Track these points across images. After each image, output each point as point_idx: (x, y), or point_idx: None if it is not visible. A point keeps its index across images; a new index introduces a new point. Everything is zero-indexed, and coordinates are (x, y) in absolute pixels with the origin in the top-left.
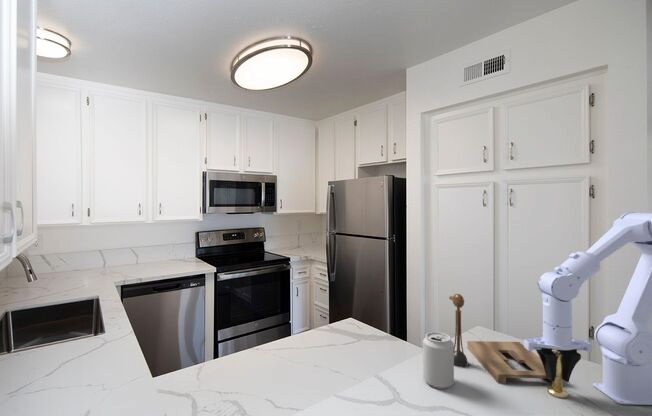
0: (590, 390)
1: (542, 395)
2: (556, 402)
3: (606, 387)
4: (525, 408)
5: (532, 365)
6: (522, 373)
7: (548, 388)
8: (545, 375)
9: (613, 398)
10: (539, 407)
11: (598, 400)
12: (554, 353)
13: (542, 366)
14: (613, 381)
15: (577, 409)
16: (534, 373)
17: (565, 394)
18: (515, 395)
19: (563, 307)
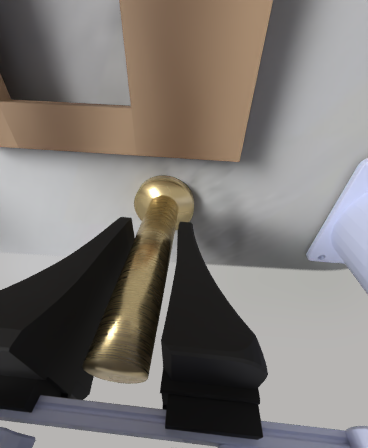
0: (306, 188)
1: (112, 207)
2: None
3: (348, 228)
4: (49, 250)
5: (130, 10)
6: (40, 135)
7: (139, 197)
8: (151, 155)
9: (314, 245)
10: None
11: (267, 235)
12: (90, 371)
13: (199, 28)
14: (362, 276)
15: (172, 259)
16: (102, 135)
17: (175, 228)
18: (30, 204)
19: None
